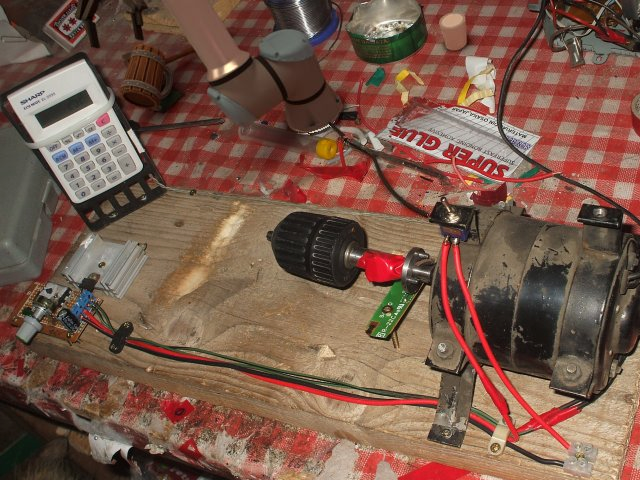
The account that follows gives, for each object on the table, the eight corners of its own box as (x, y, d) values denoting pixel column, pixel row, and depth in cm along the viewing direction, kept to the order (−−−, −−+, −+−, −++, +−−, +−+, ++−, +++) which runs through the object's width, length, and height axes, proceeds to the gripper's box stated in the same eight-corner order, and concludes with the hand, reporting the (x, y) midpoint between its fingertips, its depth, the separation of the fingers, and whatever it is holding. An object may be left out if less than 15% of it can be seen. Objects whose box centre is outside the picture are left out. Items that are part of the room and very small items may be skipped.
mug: (142, 89, 167) (153, 39, 170) (110, 90, 170) (122, 41, 173) (177, 118, 181) (188, 72, 184) (147, 119, 184) (158, 73, 187)
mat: (183, 95, 183) (182, 94, 182) (163, 113, 180) (162, 111, 180) (160, 84, 188) (159, 82, 188) (140, 100, 186) (139, 99, 186)
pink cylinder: (440, 41, 168) (435, 18, 163) (463, 31, 168) (459, 8, 162) (448, 55, 164) (444, 32, 159) (472, 45, 164) (469, 21, 158)
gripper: (151, -49, 162) (166, 38, 167) (70, -31, 168) (87, 52, 173) (133, -57, 155) (150, 33, 160) (49, -39, 161) (67, 48, 166)
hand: (117, 43), depth 166 cm, fingers open, 13 cm apart
